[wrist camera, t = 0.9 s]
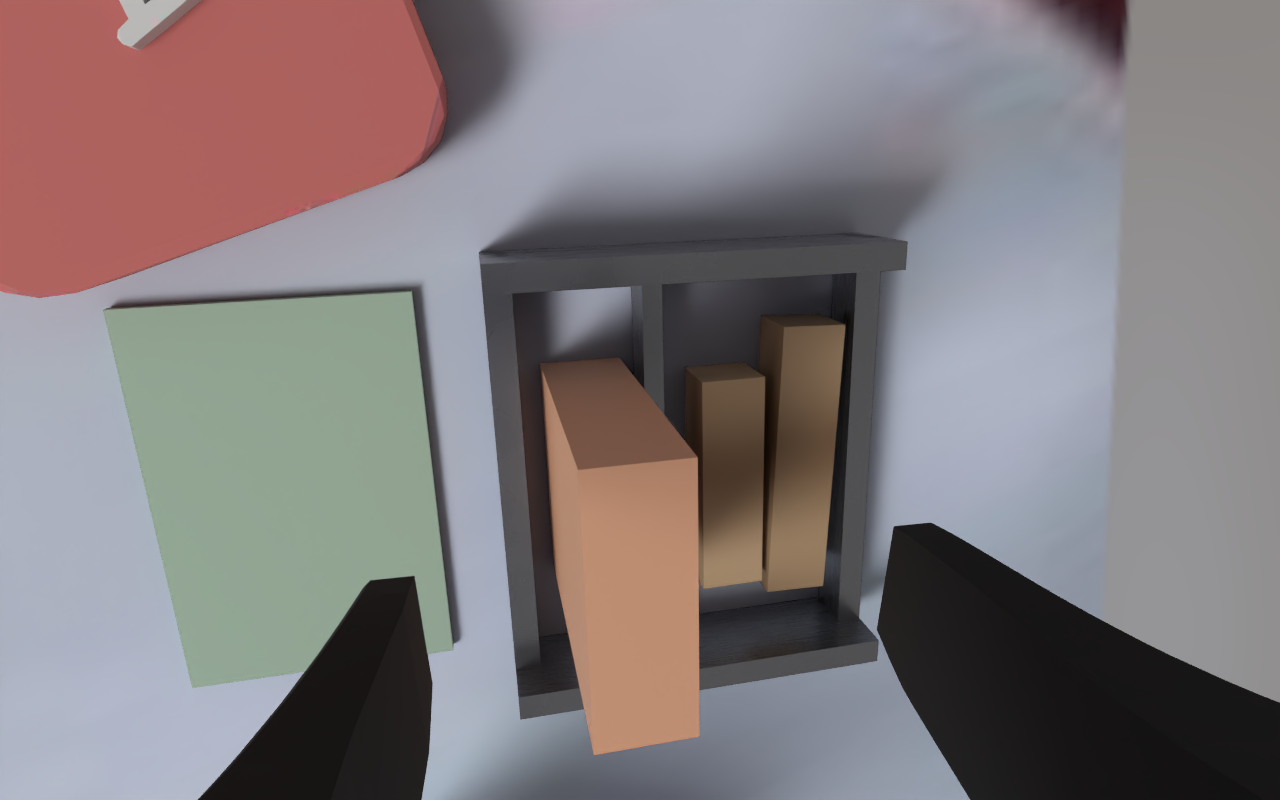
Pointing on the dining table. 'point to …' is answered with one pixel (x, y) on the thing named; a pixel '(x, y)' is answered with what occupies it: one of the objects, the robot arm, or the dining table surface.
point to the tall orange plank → (624, 552)
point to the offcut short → (727, 469)
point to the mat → (281, 469)
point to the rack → (726, 638)
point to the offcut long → (798, 444)
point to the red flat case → (195, 124)
